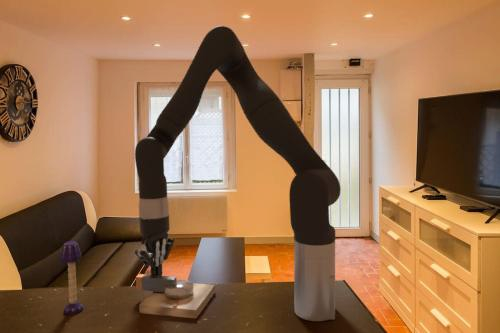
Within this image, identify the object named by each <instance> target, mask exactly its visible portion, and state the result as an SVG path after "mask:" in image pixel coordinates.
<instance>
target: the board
mask: <svg viewBox="0 0 500 333" xmlns="http://www.w3.org/2000/svg"><path fill="white" fill-rule="evenodd" d="M192 283H193V282H192ZM215 293H216V284H208V283H197V282H196V283H195V282H194V283H193V294H192V295H191V296H190V297H187V298H184V299H169V298H167V297H165V292H154V291H152V292H151V293H150V294H149V295H148V296H147V297H146V298H145V299H144V300H143V301H141V302H140V304H139V306H138V308H139V314H146V315H157V316H166V317H167V316H169V317H176V318H177V317H179V318H185V319H186V318H189V319H197V318H198V317H199V315H200V314H201V313H202V312H203V310H204V308H205V307H206V306H207V305H208V303H209V301H211V299H212V297H213V296H214V295H215ZM213 294H214V295H213ZM210 298H211V299H210Z"/></svg>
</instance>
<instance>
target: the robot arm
mask: <svg viewBox="0 0 500 333" xmlns="http://www.w3.org/2000/svg"><path fill="white" fill-rule="evenodd" d="M215 71H217V72H219V74H220V75H221V76H222V77H223V78H224V80H226V82H227V83H228V85H229V86H230V87H231V88H232V90H233V92H234V93H235V95H236V97H237V99H238V102H239V106H240V107H241V110H242V112H243V114H244V116H245V118H246V120H247V121H248V122H249V124H250V125H251V127H252V129H253V130H254V132H255V133H256V135H257V136H258V137H259V139H260V140H261V141H262V142H263V143H265V144H266V145H267V146H268V147H269V148H270V149H271V150H273V151H274V152H275V153H276V154H278V155H279V156H280V157H281V158H282V159H283V160H284V161H286V162H287V164H288V165H289V167H290V168H291V169H292V171H293V172H294V175H295V176H294V177H293V178H292V180H291V183H290V186H289V199H288V200H289V219H290V225H291V226H290V227H291V229H292V231H293V237H294V238H293V240H294V241H293V248H294V250H293V251H294V252H293V255H294V256H293V259H294V261H293V263H294V266H293V268H294V269H293V273H294V274H293V275H294V276H293V279H294V281H293V282H294V283H293V284H294V288H293V289H294V290H293V291H294V297H293V298H294V301H293V304H294V305H293V306H294V313H295V314H296V316H297V317H299V318H300V319H302V320H304V321H305V320H306V321H310V322H324V321H328V320H333V321H334V320H335V319H336V229H335V227H334V226H332V225H331V224H330V210H329V209H330V208H329V207H330V206H331V205H334V204H335V203H336V202H337V201H338V199H339V198H340V195H341V191H342V190H341V184H340V180H339V178H338V176H337V175H336V174H335V172H334V171H333V169H332V168H330V166H329V165H328V164H327V163H326V162H325V161H324V159H323V158H322V157H321V156H320V155H319V154H318V152H316V150H315V149H314V148H313V146H312V145H311V143H310V142H309V141H308V139H307V137H306V136H305V135H304V133H303V131H302V130H301V128H300V127H299V126H298V124H297V122H296V121H295V120H294V118H293V117H292V115H291V114H290V112H289V110H288V109H287V107H286V106H285V105H284V103H283V102H282V100H281V98H279V96H278V95H277V94H276V92H275V91H274V90H273V89H272V88H271V87H270V86H269V85H268V84H267V83H266V82H265V81H264V80H263V79H262V78H261V77H260V75H258V73H257V72H256V70H255V68H254V66H253V65H252V62H251V61H250V59H249V57H248V55H247V52H246V50H245V49H244V46H243V44H242V42H241V40H240V39H239V38H238V36H237V35H236V33H235V32H234V30H233V29H232V28H230V27H228V26H227V25H226V26H225V25H219V26H215V27H212V28H211V29H210V30H209V31H208V32H207V33H206V34H205V36H204V38H203V39H202V42H201V43H200V45H199V47H198V49H197V51H196V53H195V56H194V57H193V59H192V61H191V63H190V64H189V67H188V69H187V71H186V73H185V74H184V76H183V78H182V80H181V82H180V84H179V86H178V88H177V89H176V91H175V93H174V94H173V95H172V96H171V98H170V99H169V101H168V102H167V104H166V105H165V107H164V108H163V109H162V111H161V112H160V114H158V117H157V119H156V122H155V124H154V126H153V127H152V129H151V130H150V132H149V133H148V134H147V136H146V137H144V138H142V139H140V140H139V141H138V142H137V143H136V146H135V151H134V159H135V166H136V171H137V172H136V173H137V176H138V196H139V199H138V200H139V202H138V216H139V218H138V220H139V221H138V222H139V233H140V234H141V235H142V239H141V242H140V243H141V246H140V248H139V249H135V251H134V254H135V255H136V256H137V258H138V259H139V260H140V261H141V262H142V264H143V265H144V266H149V267H150V275H157V276H163V264H164V262H165V261H167V260H168V259H169V255H170V252H171V251H172V248H173V245H174V243H175V238H171V237H169V231H170V228H171V227H170V209H169V208H170V207H169V205H170V204H169V200H168V182H167V178H166V177H167V176H166V175H165V158H166V156H167V155H168V153H169V152H170V150H171V149H172V147H173V146H174V144H175V142H176V140H177V138H178V137H179V136H180V135H181V134H182V133H183V131H184V129H186V127H187V126H188V124H189V123H190V122H191V120H192V119H193V117H194V115H196V112H197V110H198V107H199V106H200V103H201V100H202V97H203V93H204V90H206V86H207V85H208V82H209V80H210V79H211V77H212V75H213V74H214V73H215Z"/></svg>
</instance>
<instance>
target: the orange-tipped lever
mask: <svg viewBox="0 0 500 333" xmlns="http://www.w3.org/2000/svg"><path fill="white" fill-rule="evenodd" d="M135 286H136V287H135V289H136V291H138V292H139V291H141V292H143V291H144V292H145V291H147V292H153V291H154V292H165V297H167V298H169V299H184V298H187V297H190V296H191V295H192V294H193V281H191V280H189V279H188V280H187V279H177V276H167V275H162V276H157V275H151V274H145V273H144V274H143V273H139V274H137V275H136V276H135Z"/></svg>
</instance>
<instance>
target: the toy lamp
mask: <svg viewBox="0 0 500 333" xmlns="http://www.w3.org/2000/svg"><path fill="white" fill-rule="evenodd" d="M82 257H83V256H82V252H81V249H80V247H79V244H78V242H77V241H73V240H72V241H71V240H70V241H65V243H63V245H62V248H61V253H60V257H59V261H60V262H61V263H64V264H67V266H68V267H67V272H68V274H67V277H68V296H69V298H68V302H69V303H67V304H66V305H65V307H64V309H63V313H64V314H65V315H77V314H79V313H81V312H82V311H83V310H84V306H83V304H82V302H80V301H78V299H77V295H78V293H77V274H76V262H79V261H81V260H82Z"/></svg>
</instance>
